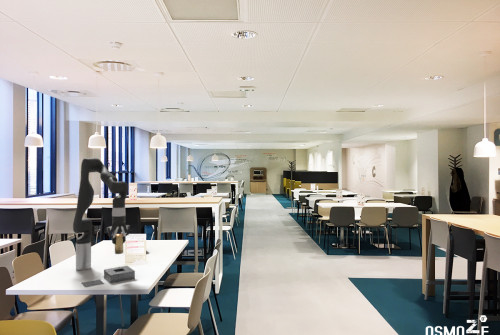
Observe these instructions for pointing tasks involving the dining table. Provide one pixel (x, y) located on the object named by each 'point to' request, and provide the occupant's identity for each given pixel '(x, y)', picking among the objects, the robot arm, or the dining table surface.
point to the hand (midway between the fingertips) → (118, 243)
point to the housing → (119, 274)
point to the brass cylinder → (119, 244)
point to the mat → (92, 283)
